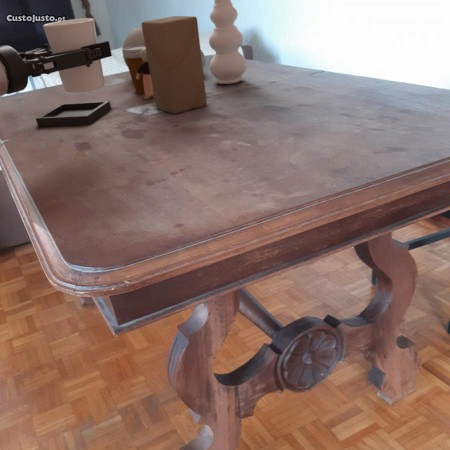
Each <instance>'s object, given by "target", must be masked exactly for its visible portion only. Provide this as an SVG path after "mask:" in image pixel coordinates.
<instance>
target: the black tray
mask: <svg viewBox="0 0 450 450" xmlns="http://www.w3.org/2000/svg"><path fill="white" fill-rule="evenodd" d="M111 110H112V105H111V101H110V100H101V101H83V102H67V103H60V104H58V105H57V106H55V107H53V108H52V109H50V110H48V111H46V112H45V113H43V114H41V115H39V116H37V117H36V118H35V122H36V124H37V128H43V127H44V128H46V127H64V126H65V127H66V126H87V125H89V126H90V125H91V124H92V123H94V122H95V121H97V120H98V119H99V118H100V117H102V116H103V115H105V114H106V113H108V112H110V111H111Z"/></svg>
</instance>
